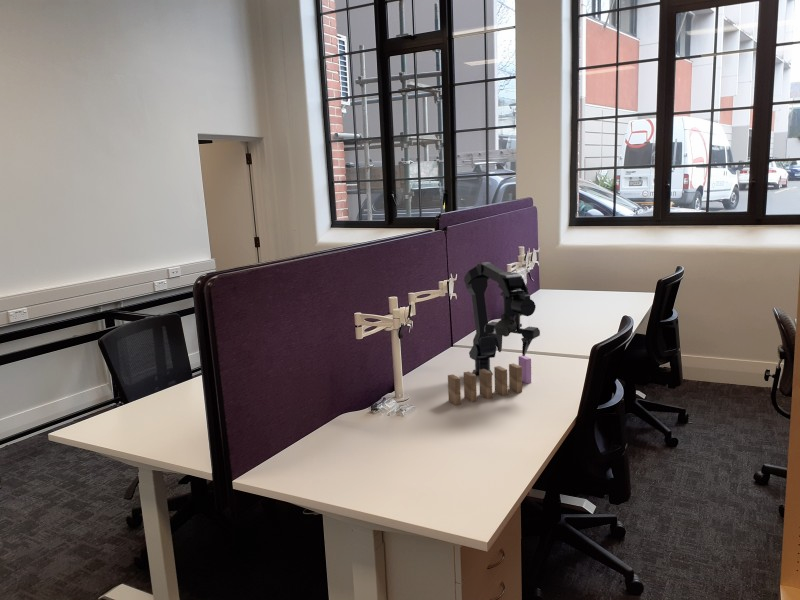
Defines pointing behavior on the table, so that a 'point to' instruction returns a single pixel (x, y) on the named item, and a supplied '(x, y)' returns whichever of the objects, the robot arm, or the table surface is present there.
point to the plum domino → (525, 368)
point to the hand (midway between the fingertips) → (511, 353)
